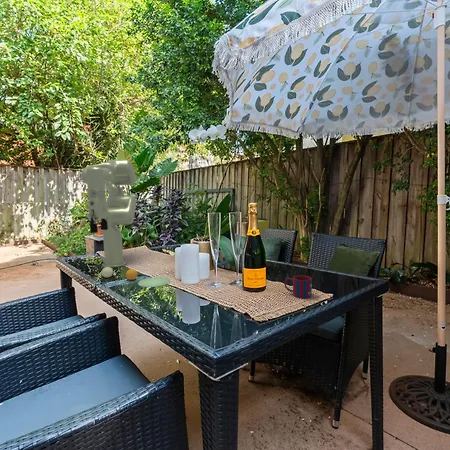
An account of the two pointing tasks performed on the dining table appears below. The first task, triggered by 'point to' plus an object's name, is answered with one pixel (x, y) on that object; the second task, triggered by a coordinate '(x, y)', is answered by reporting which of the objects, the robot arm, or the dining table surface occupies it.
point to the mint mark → (154, 282)
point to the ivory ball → (107, 272)
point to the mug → (301, 286)
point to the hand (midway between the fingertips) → (99, 231)
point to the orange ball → (131, 274)
